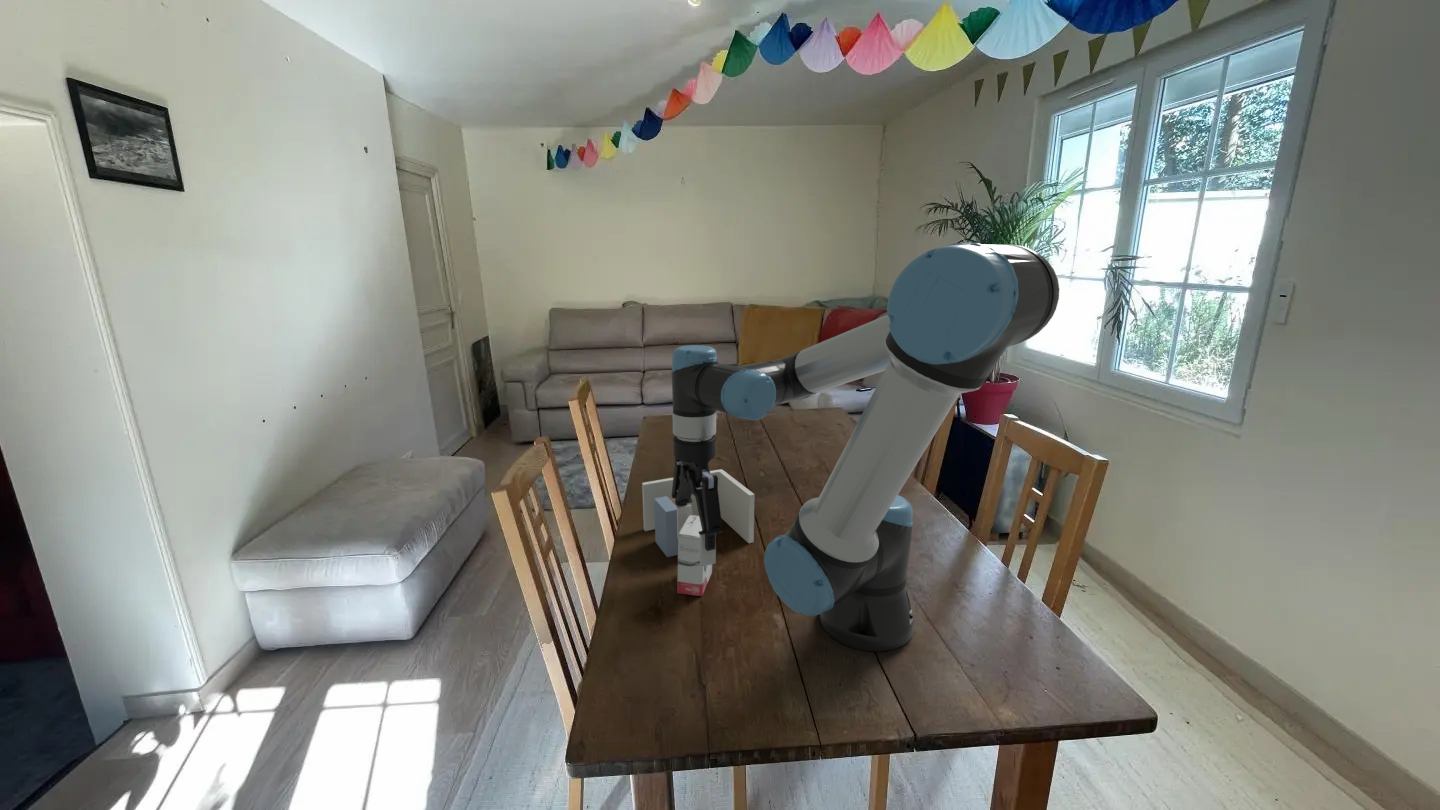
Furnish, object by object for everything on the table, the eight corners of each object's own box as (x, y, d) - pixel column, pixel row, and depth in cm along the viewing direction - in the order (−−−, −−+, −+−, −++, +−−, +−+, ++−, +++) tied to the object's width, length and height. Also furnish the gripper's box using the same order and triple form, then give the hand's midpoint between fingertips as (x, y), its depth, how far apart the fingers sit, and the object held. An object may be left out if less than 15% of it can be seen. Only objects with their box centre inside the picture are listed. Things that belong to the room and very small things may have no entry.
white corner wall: (753, 542, 124) (754, 494, 121) (668, 562, 116) (667, 511, 113) (721, 512, 138) (721, 469, 135) (643, 528, 130) (642, 482, 127)
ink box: (703, 597, 105) (703, 537, 101) (676, 594, 106) (675, 534, 102) (714, 572, 113) (714, 515, 110) (688, 569, 114) (688, 513, 111)
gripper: (744, 452, 93) (742, 575, 99) (689, 415, 113) (690, 520, 119) (701, 459, 90) (701, 586, 96) (652, 420, 110) (655, 528, 116)
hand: (695, 550), depth 107 cm, fingers open, 10 cm apart
